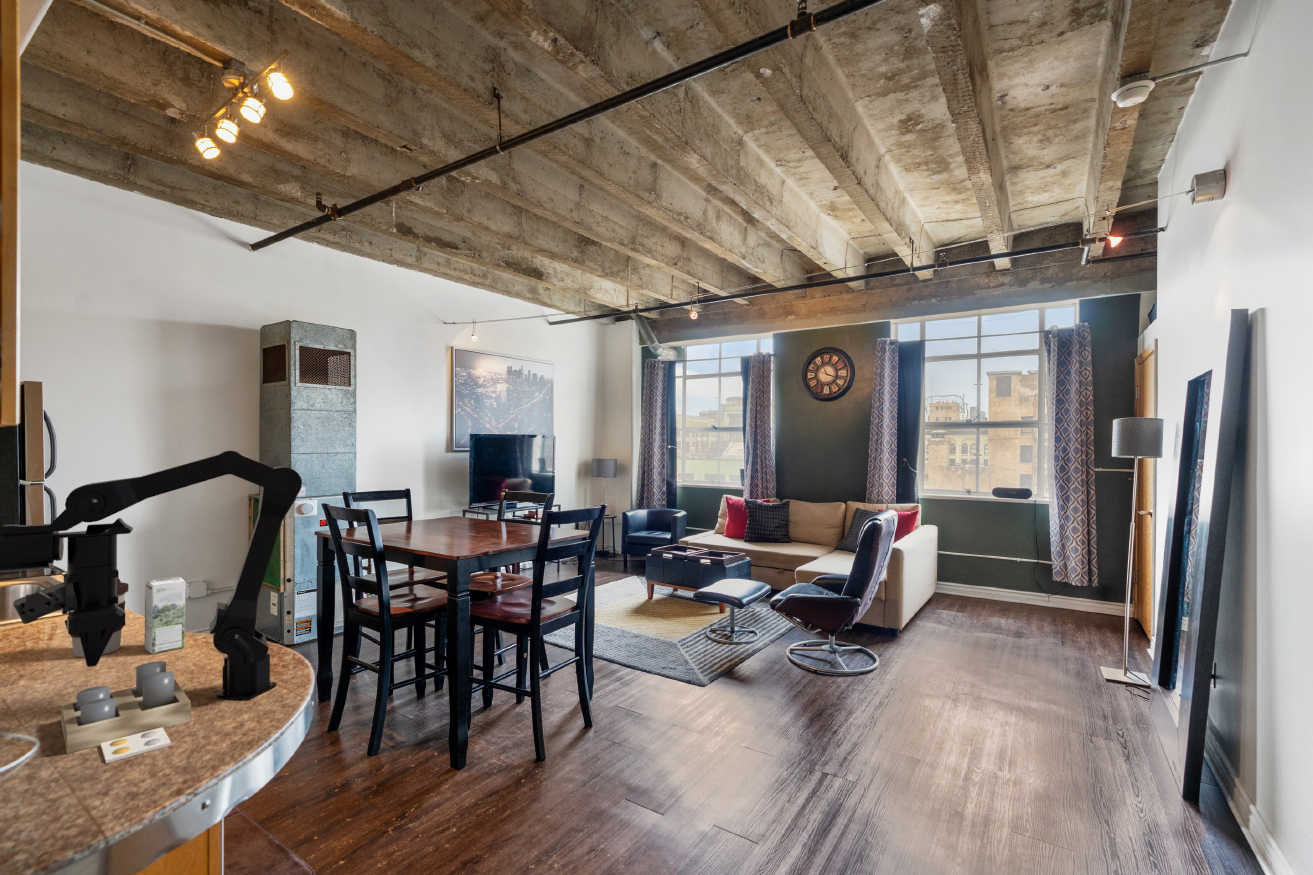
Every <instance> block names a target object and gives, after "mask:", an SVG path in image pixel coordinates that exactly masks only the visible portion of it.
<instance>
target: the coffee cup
mask: <svg viewBox="0 0 1313 875" xmlns="http://www.w3.org/2000/svg"><path fill="white" fill-rule="evenodd" d="M128 592H129V583H127V582H122V581H121V580H120V578H119V577H117V596H118V604H115V605H117V606H119V607H120V608H122V609H123V610H124V612H125V608H126V600H125V594H126V593H128ZM71 613H72V612H70V611H68V614H67V617H68V616H69V615H70V614H71ZM125 613H126V612H125ZM123 628H124V626H122V627H117V628H116V629H115V631H114V633H113V635H112V637H111V638H110V640H109V642H108V644H107V646H106V648H105V650H104V652H103V654H102V656H103V655H107V654H110V653H113V652H115V651H118V650H119V649H120V647H121V641H122V630H123ZM69 635H70V637H71V643H72V655H73V656H74V657H76V658H85V657H84V653H83V649H82V645H81V641H80V637H79V636H78V635H76V634H69Z"/></svg>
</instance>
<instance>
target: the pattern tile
mask: <svg viewBox="0 0 1313 875" xmlns="http://www.w3.org/2000/svg"><path fill="white" fill-rule="evenodd" d="M170 746H172V741H171V740H170V738H169V736H168V734H167V732H166V730H165V728H163V727H161V728H157V729H154V730H150V731H146V732H142V733H138V734H134V735H131V736H127V737H123V738H119V739H115V740H111V741H108V742H104V743H101V745H100V749H101V751H102V755H103V759H104V761H105V764H109V763H112V762H116V761H119V760H122V759H126V758H127V759H128V758H130V757H133V756H134V757H135V756H137V755H141V754H144V753H148V752H152V751H156V750H159V749H163V748H166V747H170Z"/></svg>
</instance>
